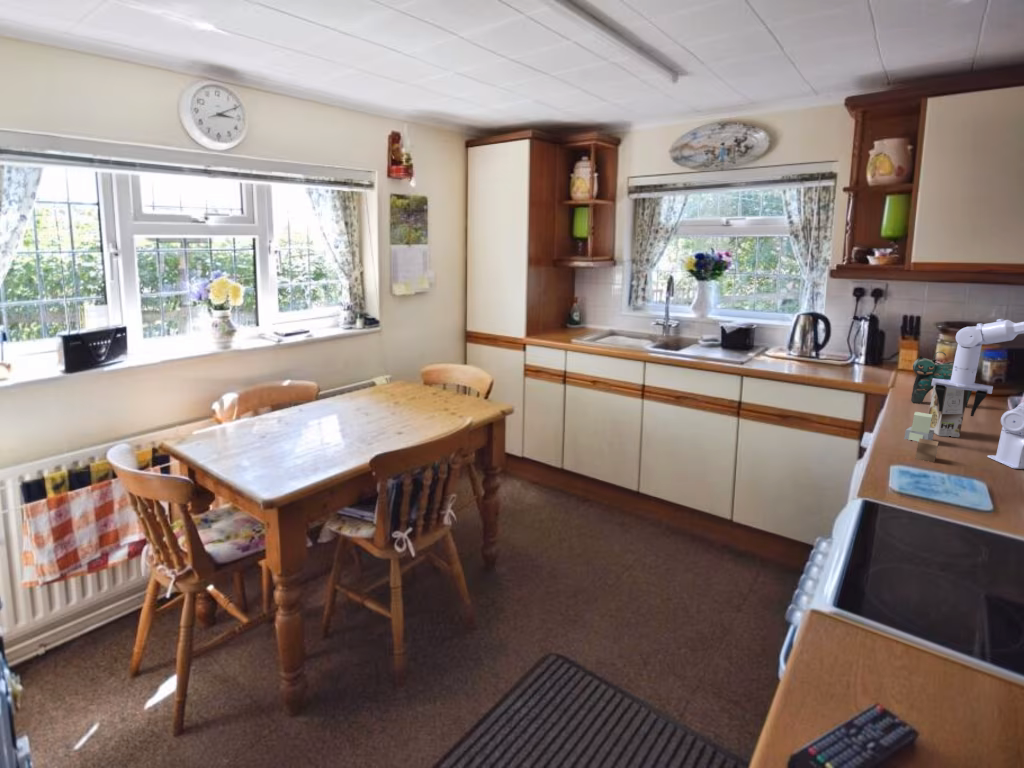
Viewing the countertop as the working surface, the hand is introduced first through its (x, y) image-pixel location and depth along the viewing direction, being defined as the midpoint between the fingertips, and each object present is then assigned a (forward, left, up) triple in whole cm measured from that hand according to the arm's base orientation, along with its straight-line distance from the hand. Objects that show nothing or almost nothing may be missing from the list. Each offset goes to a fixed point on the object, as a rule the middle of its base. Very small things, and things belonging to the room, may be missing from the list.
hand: (956, 413), depth 187 cm
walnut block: (-10, +15, -11) cm, 21 cm away
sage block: (+6, +5, -7) cm, 11 cm away
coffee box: (+14, -8, -11) cm, 19 cm away
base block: (+6, +5, -11) cm, 14 cm away
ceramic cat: (+49, -32, -11) cm, 60 cm away
